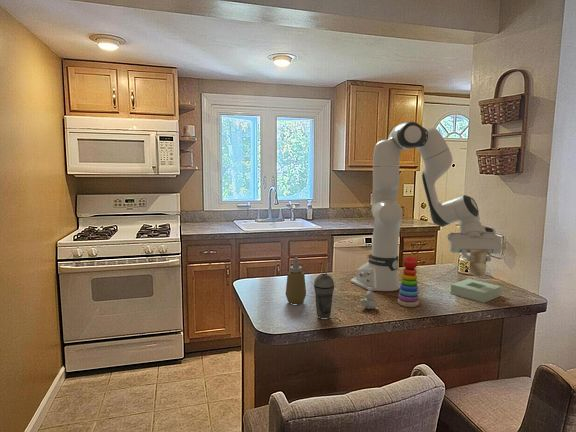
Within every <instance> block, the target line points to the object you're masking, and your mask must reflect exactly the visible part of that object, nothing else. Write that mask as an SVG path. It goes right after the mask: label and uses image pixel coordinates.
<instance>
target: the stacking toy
mask: <svg viewBox="0 0 576 432" xmlns="http://www.w3.org/2000/svg"><path fill="white" fill-rule="evenodd" d="M403 266H404V268H403V270H402V272H403V273H402V274H401V280H400V289H399V293H398V294H397V297H398V299H397V304H398V305H400V306H402V307H405V308H415V307H417V306H419V304H420V301H419V291H418V288H419V286H418V282H419V281H418V280H417V279H418V277H417V273H418V271H417V269H416V268H417V266H418V260H417V258H415V257H414V256H406V257H405V258H404V260H403Z"/></svg>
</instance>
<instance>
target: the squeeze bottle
mask: <svg viewBox="0 0 576 432" xmlns="http://www.w3.org/2000/svg"><path fill="white" fill-rule="evenodd" d="M299 263H300V262H299V258H298V257H294V259H293V264H292V265H290V267H289V271H288V272H287V276H286V287H285V297H286V300H287V303H288V302H289V303H292V304H301V305H303V304H304V302H305V299H306V297H307V290H306V289H307V288H306V287H307V286H306V278H305V277H306V276H305V272H303V267H302V266H301V265H300V264H299ZM289 303H288V304H289ZM302 303H303V304H302Z"/></svg>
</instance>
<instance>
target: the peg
mask: <svg viewBox="0 0 576 432" xmlns="http://www.w3.org/2000/svg"><path fill="white" fill-rule="evenodd" d="M469 256H470V258H471V260H470V261H469V273H468V274H469V275H473V276H477V277H483V276H486V273H487V272H486V271H487V262H486V257H487V256H488V255H487V251H485V250H470V253H469Z"/></svg>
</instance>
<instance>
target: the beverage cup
mask: <svg viewBox="0 0 576 432" xmlns="http://www.w3.org/2000/svg"><path fill="white" fill-rule="evenodd" d="M329 263H330V262H329V261H327V262H326V269H325V273H322V274H319V275H317V276H316V278H315V280H314V283H313V288H314V294H315V308H316V316H318V317H320V318H329V317H330V318H331V313H332V305H333V304H332V302H333V297H334V295H333V294H334V289H335V281H334V279H333V277H332V276H331V275H330V274H328V272H329V271H328V269H329ZM330 318H329V319H330Z"/></svg>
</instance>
